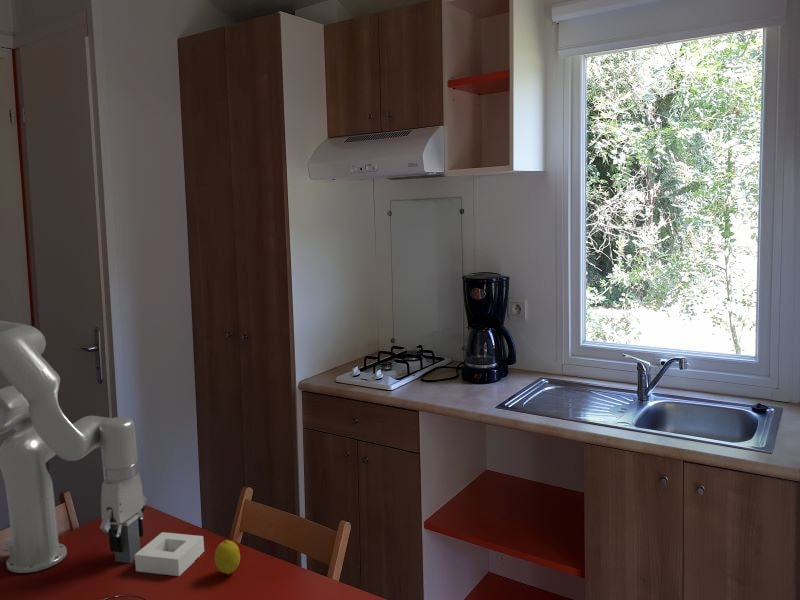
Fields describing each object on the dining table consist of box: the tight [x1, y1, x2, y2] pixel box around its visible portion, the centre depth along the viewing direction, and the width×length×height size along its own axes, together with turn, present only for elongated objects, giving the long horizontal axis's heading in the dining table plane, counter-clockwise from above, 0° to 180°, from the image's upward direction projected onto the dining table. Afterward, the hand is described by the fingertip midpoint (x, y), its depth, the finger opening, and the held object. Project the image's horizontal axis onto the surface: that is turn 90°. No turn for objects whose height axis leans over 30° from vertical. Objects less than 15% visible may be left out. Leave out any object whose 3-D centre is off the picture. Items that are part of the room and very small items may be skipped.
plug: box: [113, 515, 141, 564], centre depth 161 cm, size 4×4×11 cm
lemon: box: [214, 539, 241, 575], centre depth 153 cm, size 6×6×8 cm
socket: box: [134, 531, 205, 577], centre depth 159 cm, size 11×11×4 cm
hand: (127, 542), depth 161 cm, fingers open, 6 cm apart
